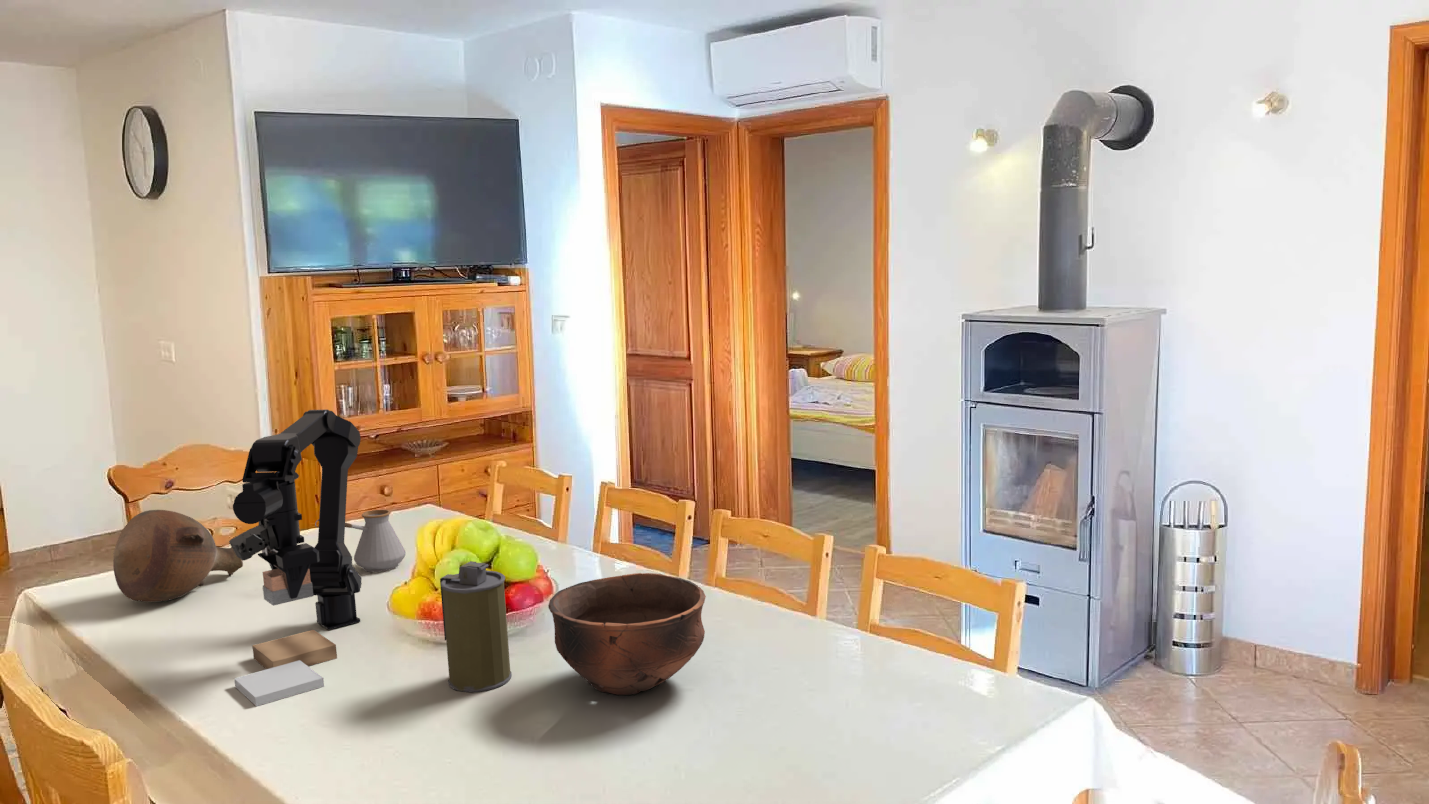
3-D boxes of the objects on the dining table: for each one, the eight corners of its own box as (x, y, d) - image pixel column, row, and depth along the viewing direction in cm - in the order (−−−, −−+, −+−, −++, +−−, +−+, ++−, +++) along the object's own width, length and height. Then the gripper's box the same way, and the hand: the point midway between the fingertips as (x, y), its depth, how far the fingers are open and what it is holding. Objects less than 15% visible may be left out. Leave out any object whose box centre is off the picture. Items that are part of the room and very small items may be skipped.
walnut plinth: (314, 642, 200) (313, 629, 200) (337, 658, 192) (335, 644, 192) (253, 658, 193) (252, 645, 193) (274, 675, 185) (273, 661, 185)
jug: (130, 622, 216) (263, 603, 241) (146, 529, 214) (279, 519, 239) (80, 587, 227) (213, 572, 252) (95, 498, 225) (227, 492, 250)
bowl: (587, 731, 159) (581, 633, 157) (534, 675, 181) (528, 588, 179) (734, 693, 170) (731, 601, 168) (668, 645, 192) (664, 563, 190)
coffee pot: (384, 557, 256) (379, 495, 253) (417, 563, 249) (412, 500, 247) (306, 582, 238) (300, 516, 236) (339, 589, 232) (333, 522, 230)
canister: (523, 670, 183) (515, 557, 180) (491, 695, 173) (482, 576, 170) (467, 664, 187) (459, 553, 184) (433, 688, 177) (424, 571, 174)
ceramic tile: (300, 668, 188) (299, 660, 188) (324, 686, 180) (323, 677, 179) (235, 686, 181) (234, 678, 181) (256, 706, 173) (255, 697, 172)
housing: (303, 590, 195) (301, 563, 194) (313, 596, 191) (310, 569, 191) (264, 599, 191) (261, 572, 190) (273, 605, 187) (270, 577, 186)
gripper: (216, 509, 191) (225, 593, 193) (248, 527, 176) (258, 618, 179) (280, 498, 198) (288, 579, 200) (316, 515, 183) (324, 602, 186)
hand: (288, 594), depth 191 cm, fingers closed on housing, 5 cm apart
